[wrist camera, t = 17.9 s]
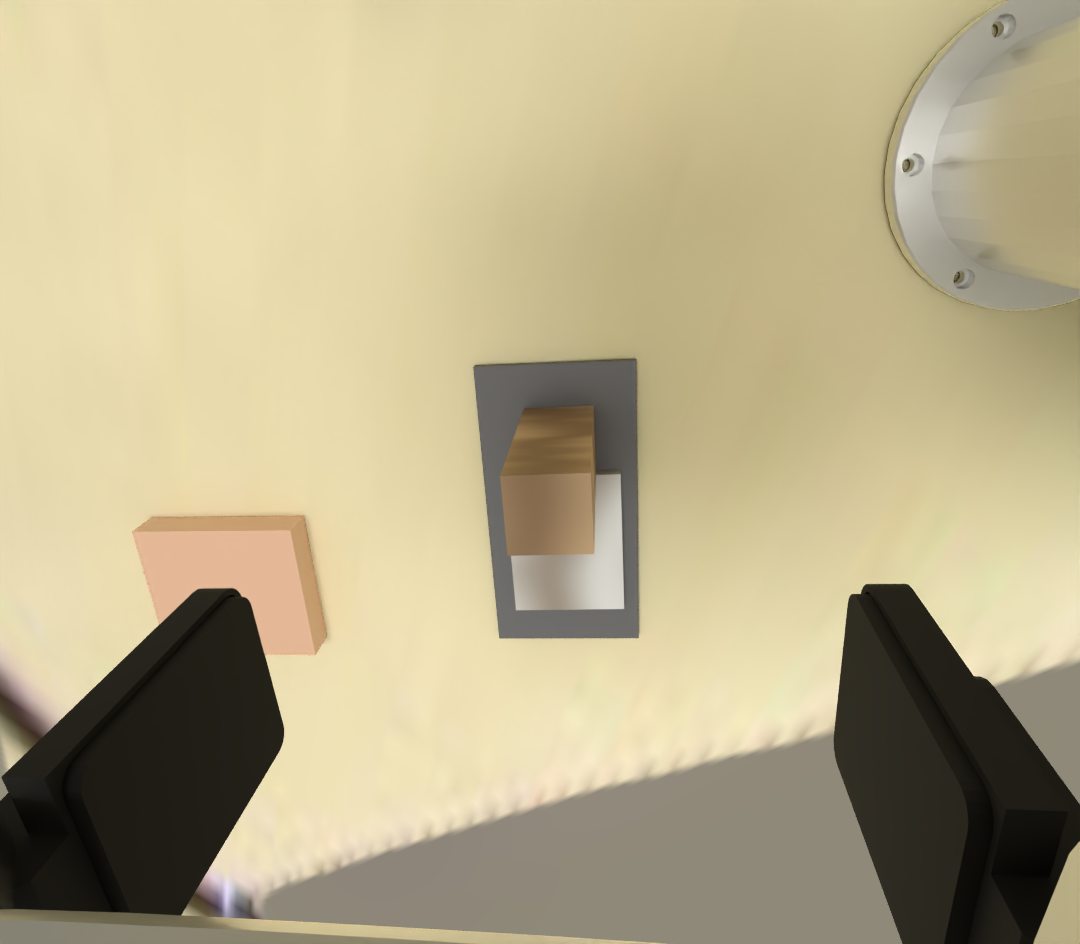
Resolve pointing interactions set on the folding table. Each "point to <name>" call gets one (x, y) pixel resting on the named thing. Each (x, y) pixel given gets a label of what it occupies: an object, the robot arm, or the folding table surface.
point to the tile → (238, 572)
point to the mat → (615, 449)
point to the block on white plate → (562, 514)
